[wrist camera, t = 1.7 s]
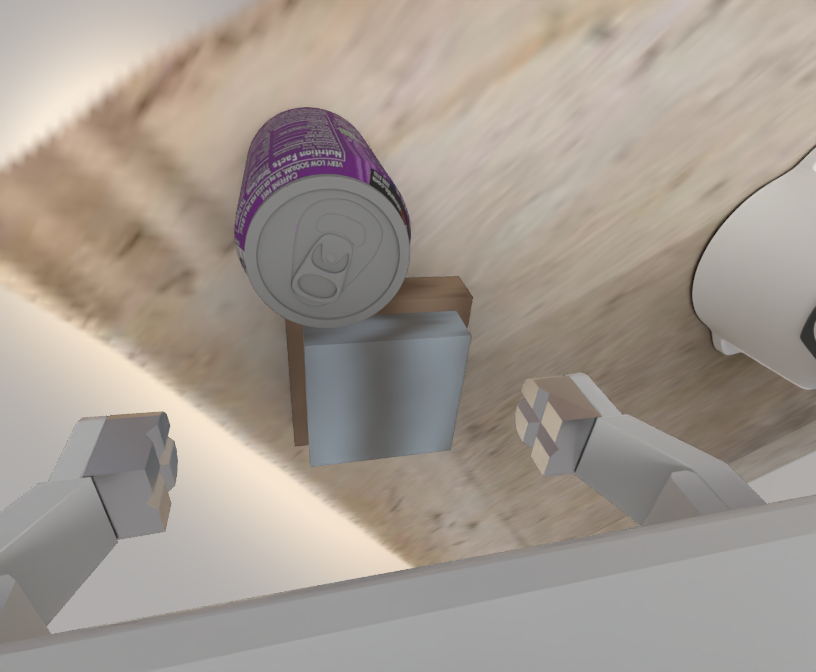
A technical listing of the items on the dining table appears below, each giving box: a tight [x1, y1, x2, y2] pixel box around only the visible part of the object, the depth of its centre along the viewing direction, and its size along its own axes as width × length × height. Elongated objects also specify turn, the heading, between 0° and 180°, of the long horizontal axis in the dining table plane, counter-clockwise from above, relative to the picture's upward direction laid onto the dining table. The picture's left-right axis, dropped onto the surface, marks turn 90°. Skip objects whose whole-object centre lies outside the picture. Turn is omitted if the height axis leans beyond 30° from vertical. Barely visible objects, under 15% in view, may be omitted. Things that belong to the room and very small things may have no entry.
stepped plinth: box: [285, 276, 473, 467], centre depth 33 cm, size 12×12×6 cm
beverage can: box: [234, 107, 411, 328], centre depth 23 cm, size 7×7×12 cm
